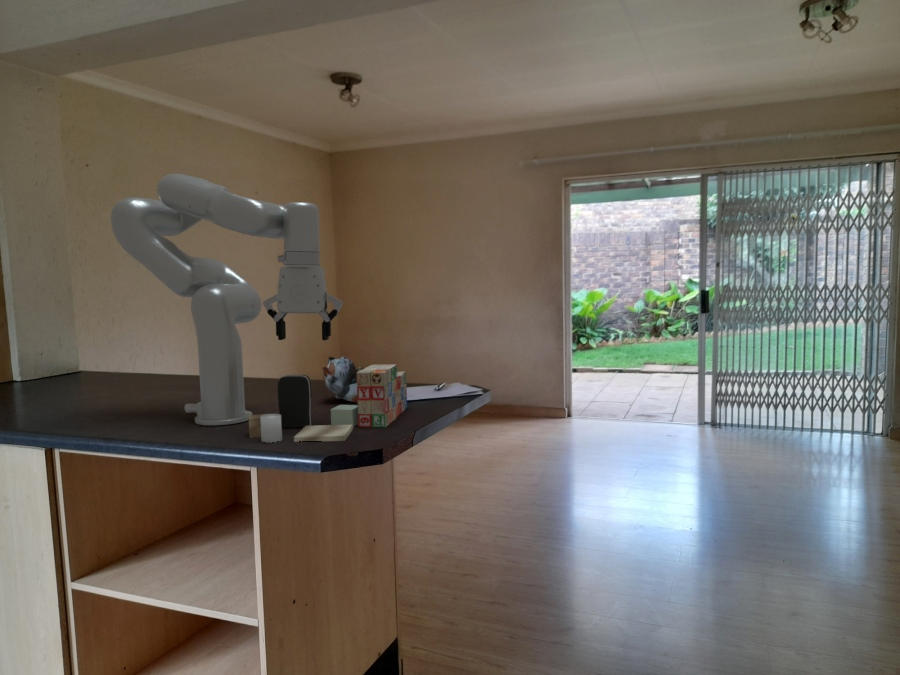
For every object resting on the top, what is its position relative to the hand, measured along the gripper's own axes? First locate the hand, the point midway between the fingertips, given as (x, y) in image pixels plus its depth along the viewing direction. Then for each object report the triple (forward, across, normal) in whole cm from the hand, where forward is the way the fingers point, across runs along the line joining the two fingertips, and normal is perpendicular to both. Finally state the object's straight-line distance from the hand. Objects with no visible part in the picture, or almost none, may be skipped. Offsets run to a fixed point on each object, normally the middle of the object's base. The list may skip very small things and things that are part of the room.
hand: (303, 339), depth 135 cm
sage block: (+19, +9, 0) cm, 21 cm away
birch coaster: (+19, +7, -10) cm, 22 cm away
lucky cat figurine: (+19, +4, +30) cm, 36 cm away
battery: (+19, -2, -1) cm, 19 cm away
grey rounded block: (+19, -3, -13) cm, 23 cm away
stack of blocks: (+19, +16, +8) cm, 26 cm away
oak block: (+19, -7, -8) cm, 22 cm away
